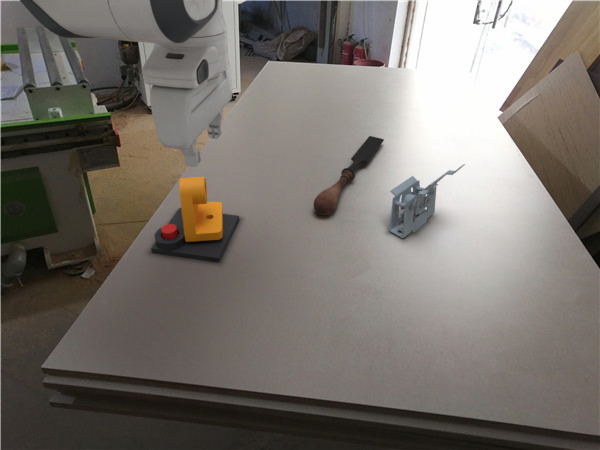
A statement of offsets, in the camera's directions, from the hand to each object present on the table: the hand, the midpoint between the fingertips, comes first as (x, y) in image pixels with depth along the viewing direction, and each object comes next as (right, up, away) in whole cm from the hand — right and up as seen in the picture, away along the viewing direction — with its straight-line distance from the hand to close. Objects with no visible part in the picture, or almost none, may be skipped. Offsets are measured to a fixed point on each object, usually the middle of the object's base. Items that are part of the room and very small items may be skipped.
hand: (204, 149), depth 61 cm
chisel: (+28, +1, +45) cm, 53 cm away
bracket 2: (+40, -11, +30) cm, 51 cm away
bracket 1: (-6, -12, +25) cm, 28 cm away
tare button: (-12, -14, +20) cm, 27 cm away
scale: (-7, -14, +24) cm, 29 cm away
